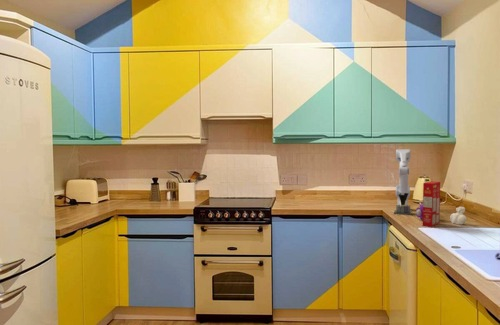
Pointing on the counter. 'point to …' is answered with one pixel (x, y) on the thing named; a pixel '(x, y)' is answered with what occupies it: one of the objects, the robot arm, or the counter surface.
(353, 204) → the counter surface
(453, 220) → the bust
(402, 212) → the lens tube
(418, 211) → the toy camera
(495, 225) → the counter surface
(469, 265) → the counter surface
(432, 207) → the food packaging
